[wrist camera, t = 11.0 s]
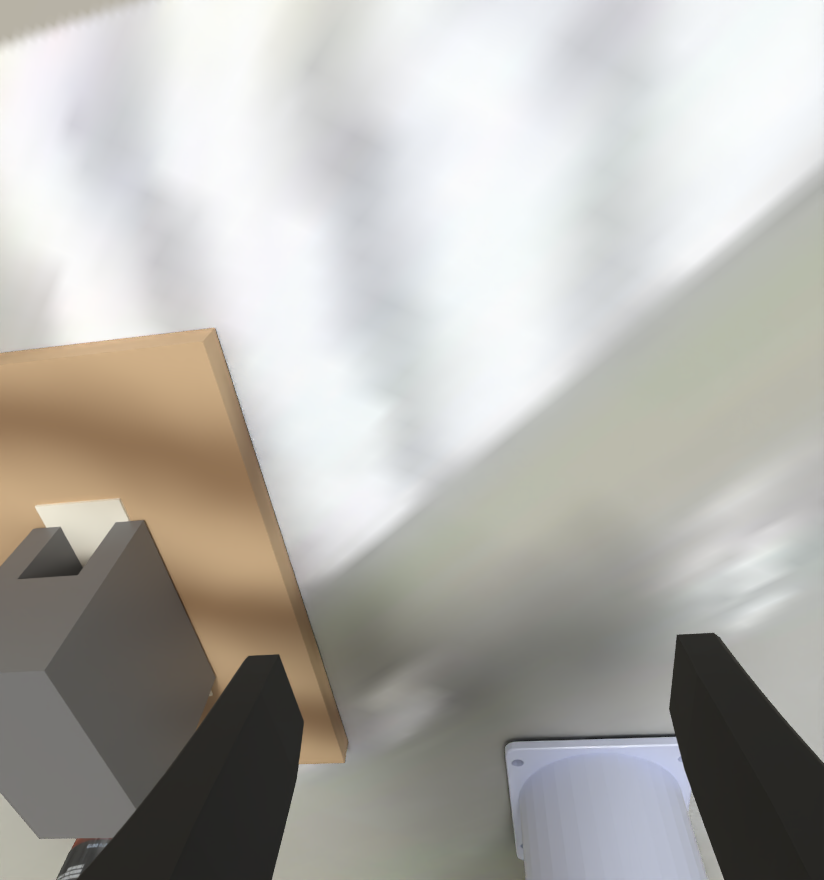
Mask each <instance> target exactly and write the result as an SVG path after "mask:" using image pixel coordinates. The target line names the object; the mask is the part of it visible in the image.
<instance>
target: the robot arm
mask: <svg viewBox="0 0 824 880" xmlns="http://www.w3.org/2000/svg"><path fill="white" fill-rule="evenodd" d="M669 710H670V714H671V718H672V722H673V726H674V731H675V735H676V737H653V738H619V739H585V740H551V741H517V742H511V743H509V744H507V745H506V746H505V757H506V766H507V775H508V784H509V793H510V801H511V810H512V819H513V828H514V837H515V845H516V854H517V857H518V858H519V859H521V860H524V867H525V879H526V880H708V878H707V874H706V871H705V868H704V864H703V861H702V858H701V854H700V851H699V848H698V844H697V841H696V838H695V834H694V831H693V828H692V824H691V821H690V818H689V814H688V810H689V803H690V797H691V790H692V792H693V795H694V798H695V801H696V803H697V806H698V809H699V812H700V815H701V817H702V820H703V823H704V826H705V828H706V831H707V834H708V836H709V839H710V842H711V845H712V847H713V850H714V853H715V856H716V858H717V861H718V864H719V866H720V869H721V872H722V875H723V877H724V880H824V763H823V762H822V761H821V760H820V759H819V757H818V756H817V755H816V754H815V753H814V752H813V751H812V750H811V748H810V747H809V746H808V745H807V744H806V743H805V742H804V741H803V739H802V738H801V737H800V736H799V735H798V734H797V733H796V731H795V730H794V729H793V728H792V727H791V726H790V725H789V724H788V722H787V721H786V720H785V719H784V718H783V717H782V715H781V714H780V713H779V712H778V711H777V709H776V708H775V707H774V706H773V705H772V703H771V702H770V701H769V700H768V699H767V697H766V696H765V695H764V694H763V693H762V691H761V690H760V689H759V688H758V686H757V685H756V684H755V683H754V681H753V680H752V679H751V678H750V676H749V675H748V674H747V673H746V671H745V670H744V669H743V668H742V666H741V665H740V664H739V662H738V661H737V660H736V659H735V657H734V656H733V655H732V653H731V652H730V651H729V649H728V648H727V647H726V645H725V644H724V643H723V641H722V640H721V639H720V637H718V636H717V635H716V634H714V633H703V634H683V635H677V640H676V649H675V659H674V669H673V678H672V688H671V698H670V707H669ZM303 727H304V720H303V717H302V715H301V712H300V709H299V707H298V704H297V701H296V699H295V696H294V693H293V690H292V688H291V685H290V682H289V680H288V677H287V674H286V672H285V669H284V666H283V663H282V661H281V658H280V655H279V654H274V655H253V656H248V657H247V658H246V659H245V660H244V661H243V663H242V664H241V666H240V667H239V669H238V670H237V672H236V673H235V674H234V676H233V677H232V679H231V680H230V682H229V683H228V685H227V686H226V688H225V689H224V691H223V692H222V694H221V695H220V697H219V698H218V700H217V701H216V703H215V704H214V705H213V707H212V708H211V710H210V711H209V713H208V714H207V715H206V717H205V718H204V720H203V721H202V723H201V724H200V726H199V727H198V728H197V730H196V731H195V733H194V734H193V735H192V737H191V738H190V739H189V741H188V742H187V744H186V745H185V746H184V748H183V749H182V750H181V752H180V753H179V755H178V756H177V757H176V759H175V760H174V761H173V763H172V764H171V766H170V767H169V768H168V770H167V771H166V772H165V773H164V775H163V776H162V777H161V779H160V780H159V781H158V782H157V784H156V785H155V786H154V788H153V789H152V790H151V791H150V793H149V794H148V795H147V796H146V798H145V799H144V800H143V801H142V803H141V804H140V805H139V807H138V808H137V809H136V810H135V812H134V813H133V814H132V815H131V817H130V818H129V819H128V820H127V822H126V823H125V824H124V825H123V826H122V827H121V829H120V830H119V831H118V832H117V833H116V835H115V836H114V837H113V838H112V839H111V840H110V842H109V843H108V844H107V845H106V846H105V847H104V849H103V850H102V851H101V852H100V853H99V854H98V855H97V856H96V858H95V859H94V860H93V861H92V862H91V863H90V864H89V865H88V867H87V868H86V869H85V870H84V871H83V872H82V873H81V874H80V875H79V877H78V878H77V879H76V880H272V876H273V872H274V868H275V864H276V860H277V857H278V853H279V849H280V845H281V841H282V837H283V833H284V829H285V825H286V821H287V816H288V812H289V808H290V804H291V800H292V796H293V792H294V788H295V783H296V779H297V772H298V765H299V759H300V751H301V743H302V735H303Z"/></svg>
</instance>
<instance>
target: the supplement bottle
mask: <svg viewBox="0 0 824 880" xmlns="http://www.w3.org/2000/svg"><path fill="white" fill-rule="evenodd" d="M111 839H112V838H77V839H76V841H75V843H74V845H73V847H72V849H71V850H70V852H69V853H68V856H67V858H66V860H65V862H64V864H63V866H62V868H61V870H60V873H59V875H58V877H57V879H56V880H76V879H77V878H78V877H79V875H80V874H81V873H82V872H83V871H84V870H85V869H86V868H87V867H88V865H89V864H90V863H91V862H92V861H93V860H94V859H95V858H96V856H97V855H98V854H99V853H100V852H101V851H102V850H103V849H104V847H105V846H106V845H107V844H108V843H109V842H110V840H111Z"/></svg>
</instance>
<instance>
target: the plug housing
mask: <svg viewBox="0 0 824 880" xmlns="http://www.w3.org/2000/svg"><path fill="white" fill-rule="evenodd" d="M215 678H216V677H215V675H214V673H213V671H212V668H211V666H210V664H209V662H208V660H207V658H206V655H205V653H204V651H203V649H202V647H201V644H200V642H199V640H198V638H197V636H196V634H195V631H194V629H193V627H192V625H191V623H190V620H189V618H188V616H187V614H186V612H185V609H184V607H183V605H182V603H181V601H180V599H179V596H178V594H177V592H176V590H175V588H174V585H173V583H172V581H171V579H170V577H169V575H168V572H167V570H166V568H165V566H164V564H163V561H162V559H161V557H160V555H159V553H158V551H157V548H156V546H155V544H154V542H153V540H152V537H151V535H150V533H149V531H148V529H147V527H146V524H145V522H144V520H139V521H126V522H115V524H114V525H113V527H112V528H111V529H110V531H109V532H108V534H107V535H106V536H105V538H104V539H103V541H102V542H101V543H100V545H99V546H98V548H97V549H96V550H95V552H94V553H93V554H92V556H91V557H90V559H89V560H88V561H87V563H86V564H85V566H84V567H82V565H81V563H80V561H79V560H78V558H77V556H76V554H75V552H74V550H73V549H72V547H71V545H70V543H69V541H68V539H67V538H66V536H65V534H64V532H63V530H62V528H61V527H49V528H36V529H33V530H32V531H31V532H30V533H29V534H28V535H27V537H26V538H25V539H24V540H23V541H22V542H21V543H20V545H19V546H18V547H17V548H16V549H15V550H14V551H13V553H12V554H11V555H10V556H9V557H8V558H7V559H6V561H5V562H4V563H3V564H2V565H1V566H0V793H1V794H2V795H3V796H4V797H5V799H6V800H7V801H8V802H9V803H10V805H11V806H12V807H13V808H14V809H15V811H16V812H17V813H18V814H19V815H20V816H21V818H22V819H23V820H24V821H25V822H26V824H27V825H28V826H29V827H30V828H31V829H32V831H33V832H34V833H35V834H36V835H37V837H38V838H39V839H55V838H113V837H114V836H115V835H116V833H117V832H118V831H119V830H120V829H121V827H122V826H123V825H124V824H125V823H126V822H127V820H128V819H129V818H130V817H131V815H132V814H133V813H134V812H135V810H136V809H137V808H138V807H139V805H140V804H141V803H142V801H143V800H144V799H145V798H146V796H147V795H148V794H149V793H150V791H151V790H152V789H153V788H154V786H155V785H156V784H157V782H158V781H159V780H160V779H161V777H162V776H163V775H164V773H165V772H166V771H167V770H168V768H169V767H170V766H171V764H172V763H173V761H174V760H175V759H176V757H177V756H178V755H179V753H180V752H181V750H182V749H183V748H184V746H185V745H186V744H187V742H188V741H189V739H190V738H191V737H192V735H193V734H194V733H195V731H196V728H197V726H198V723H199V720H200V718H201V715H202V713H203V710H204V707H205V705H206V702H207V699H208V697H209V694H210V692H211V689H212V686H213V684H214V681H215Z"/></svg>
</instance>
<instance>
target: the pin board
mask: <svg viewBox="0 0 824 880" xmlns="http://www.w3.org/2000/svg"><path fill="white" fill-rule="evenodd" d="M139 520H144V522H145V524H146V527H147V529H148V531H149V533H150V535H151V537H152V540H153V542H154V544H155V546H156V548H157V551H158V553H159V555H160V557H161V559H162V561H163V564H164V566H165V568H166V570H167V572H168V575H169V577H170V579H171V581H172V583H173V585H174V588H175V590H176V592H177V594H178V596H179V599H180V601H181V603H182V605H183V607H184V609H185V612H186V614H187V616H188V618H189V620H190V623H191V625H192V627H193V629H194V631H195V634H196V636H197V638H198V640H199V642H200V644H201V647H202V649H203V651H204V653H205V655H206V658H207V660H208V662H209V664H210V666H211V668H212V671H213V673H214V675H215V677H216V678H215V681H214V684H213V686H212V689H211V692H210V694H209V697H208V699H207V702H206V705H205V707H204V710H203V713H202V715H201V718H200V720H199V723H198V726H197V728H198V727H199V726H200V724H201V723H202V721H203V720H204V718H205V717H206V715H207V714H208V713H209V711H210V710H211V708H212V707H213V705H214V704H215V703H216V701H217V700H218V698H219V697H220V695H221V694H222V692H223V691H224V689H225V688H226V686H227V685H228V683H229V682H230V680H231V679H232V677H233V676H234V674H235V673H236V672H237V670H238V669H239V667H240V666H241V664H242V663H243V661H244V660H245V659H246V658H247V657H248V656H253V655H274V654H279V655H280V658H281V661H282V663H283V666H284V669H285V672H286V674H287V677H288V680H289V682H290V685H291V688H292V690H293V693H294V696H295V699H296V701H297V704H298V707H299V709H300V712H301V715H302V717H303V720H304V727H303V735H302V743H301V751H300V759H299V764H320V763H345V758H346V751H347V745H348V740H347V737H346V734H345V731H344V728H343V725H342V722H341V718H340V715H339V712H338V709H337V706H336V703H335V700H334V697H333V694H332V691H331V687H330V684H329V681H328V678H327V675H326V672H325V669H324V666H323V663H322V659H321V656H320V653H319V650H318V647H317V644H316V641H315V638H314V635H313V632H312V628H311V625H310V622H309V619H308V616H307V613H306V610H305V607H304V604H303V601H302V597H301V594H300V591H299V588H298V585H297V582H296V579H295V576H294V573H293V569H292V566H291V563H290V560H289V557H288V554H287V551H286V548H285V545H284V542H283V538H282V535H281V532H280V529H279V526H278V523H277V520H276V517H275V514H274V511H273V507H272V504H271V501H270V498H269V495H268V492H267V489H266V486H265V483H264V480H263V476H262V473H261V470H260V467H259V464H258V461H257V458H256V455H255V452H254V448H253V445H252V442H251V439H250V436H249V433H248V430H247V427H246V424H245V421H244V417H243V414H242V411H241V408H240V405H239V402H238V399H237V396H236V393H235V390H234V386H233V383H232V380H231V377H230V374H229V371H228V368H227V365H226V362H225V359H224V355H223V352H222V349H221V346H220V343H219V340H218V337H217V334H216V331H215V328H209V329H200V330H192V331H183V332H175V333H166V334H158V335H149V336H141V337H132V338H124V339H115V340H107V341H98V342H90V343H82V344H73V345H65V346H56V347H48V348H39V349H31V350H22V351H14V352H5V353H0V566H1V565H2V564H3V563H4V562H5V561H6V559H7V558H8V557H9V556H10V555H11V554H12V553H13V551H14V550H15V549H16V548H17V547H18V546H19V545H20V543H21V542H22V541H23V540H24V539H25V538H26V537H27V535H28V534H29V533H30V532H31V531H32V530H33V529H36V528H49V527H61V528H62V530H63V532H64V534H65V536H66V538H67V539H68V541H69V543H70V545H71V547H72V549H73V550H74V552H75V554H76V556H77V558H78V560H79V561H80V563H81V565H82V567H84V566H85V564H86V563H87V561H88V560H89V559H90V557H91V556H92V554H93V553H94V552H95V550H96V549H97V548H98V546H99V545H100V543H101V542H102V541H103V539H104V538H105V536H106V535H107V534H108V532H109V531H110V529H111V528H112V527H113V525H114V524H115V522H126V521H139ZM197 728H196V730H197Z"/></svg>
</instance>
